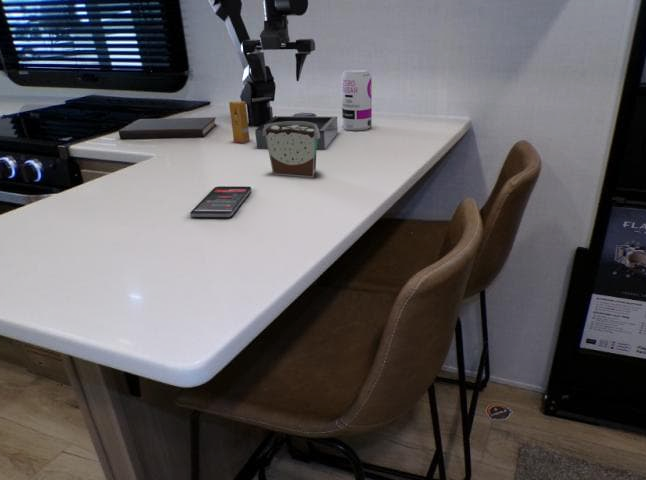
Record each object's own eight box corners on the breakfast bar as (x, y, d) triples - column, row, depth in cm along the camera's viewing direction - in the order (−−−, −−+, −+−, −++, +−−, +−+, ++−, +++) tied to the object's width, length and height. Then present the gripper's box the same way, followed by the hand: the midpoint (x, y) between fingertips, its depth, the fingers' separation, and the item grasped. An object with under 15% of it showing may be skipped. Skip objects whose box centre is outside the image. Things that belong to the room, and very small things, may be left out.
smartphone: (252, 186, 101) (230, 214, 88) (252, 190, 102) (231, 218, 89) (215, 186, 102) (188, 213, 89) (216, 189, 102) (189, 217, 89)
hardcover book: (140, 127, 157) (138, 119, 156) (216, 125, 157) (215, 117, 156) (120, 139, 143) (117, 130, 142) (203, 137, 143) (202, 128, 142)
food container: (330, 170, 113) (328, 122, 108) (320, 178, 108) (317, 128, 103) (279, 166, 117) (275, 119, 112) (266, 173, 112) (261, 125, 107)
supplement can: (372, 124, 152) (372, 68, 145) (370, 131, 145) (370, 72, 137) (344, 124, 153) (343, 69, 145) (341, 131, 146) (339, 72, 138)
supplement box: (251, 140, 138) (246, 100, 133) (243, 143, 136) (238, 102, 131) (240, 139, 140) (235, 100, 135) (233, 142, 137) (227, 102, 132)
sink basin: (257, 148, 131) (254, 129, 129) (276, 132, 146) (274, 116, 144) (324, 149, 128) (324, 130, 126) (337, 133, 143) (337, 116, 141)
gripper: (229, 17, 129) (238, 85, 136) (303, 16, 126) (307, 85, 134) (245, 16, 138) (252, 79, 146) (313, 14, 135) (317, 79, 143)
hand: (281, 81), depth 142 cm, fingers open, 9 cm apart
